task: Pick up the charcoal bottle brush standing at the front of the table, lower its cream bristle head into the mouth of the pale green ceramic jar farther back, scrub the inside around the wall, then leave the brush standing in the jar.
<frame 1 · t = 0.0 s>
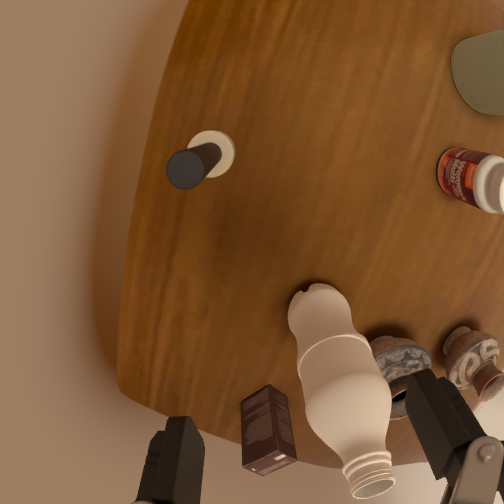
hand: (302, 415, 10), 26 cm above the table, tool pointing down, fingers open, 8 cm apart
water bottle: (314, 302, 39), on the table
jar: (480, 76, 28), on the table
box: (264, 398, 45), on the table
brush: (214, 151, 32), on the table
pill bottle: (454, 171, 33), on the table
pottery: (419, 345, 42), on the table
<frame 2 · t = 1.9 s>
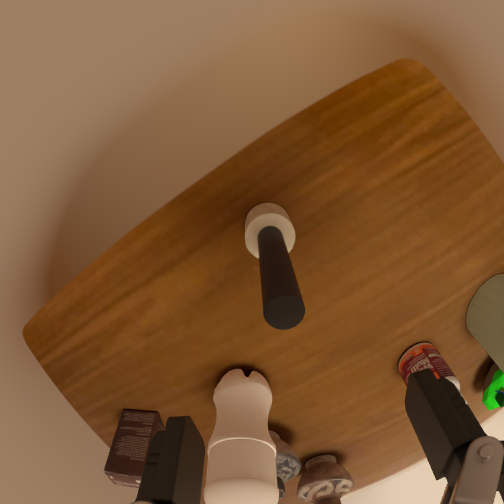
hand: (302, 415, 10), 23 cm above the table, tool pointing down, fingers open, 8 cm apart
water bottle: (242, 381, 39), on the table
jar: (491, 305, 36), on the table
box: (144, 417, 43), on the table
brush: (267, 224, 32), on the table
pill bottle: (415, 357, 39), on the table
pottery: (291, 450, 46), on the table
green rounded lump: (497, 365, 41), on the table
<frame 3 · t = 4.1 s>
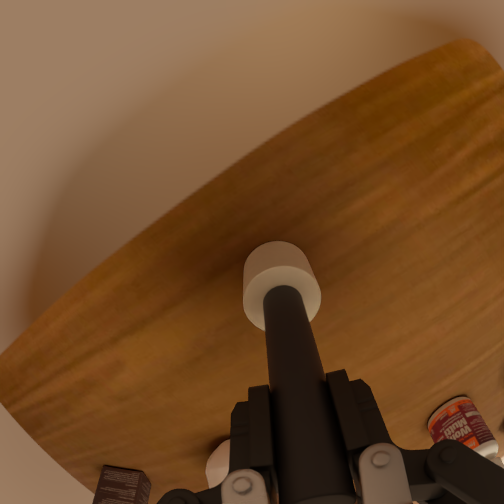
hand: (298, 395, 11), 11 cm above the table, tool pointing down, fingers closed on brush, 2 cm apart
water bottle: (241, 449, 29), on the table
box: (128, 474, 33), on the table
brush: (276, 271, 21), on the table, touching gripper
pill bottle: (447, 411, 29), on the table
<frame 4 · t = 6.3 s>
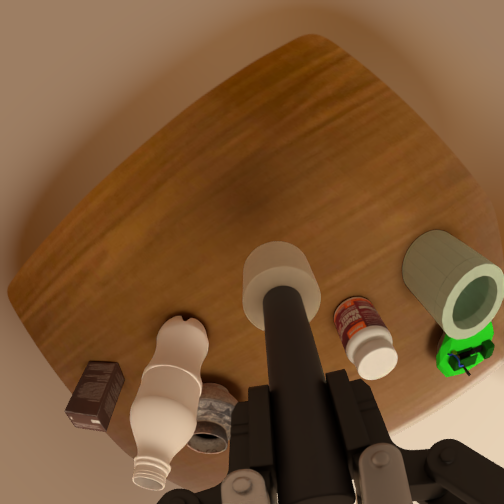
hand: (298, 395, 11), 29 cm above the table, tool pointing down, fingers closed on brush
water bottle: (186, 329, 45), on the table
jar: (431, 263, 42), on the table
box: (107, 370, 49), on the table
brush: (276, 272, 21), point 18 cm above the table, touching gripper
pill bottle: (352, 313, 44), on the table
pottery: (244, 409, 52), on the table
green rounded lump: (453, 330, 47), on the table
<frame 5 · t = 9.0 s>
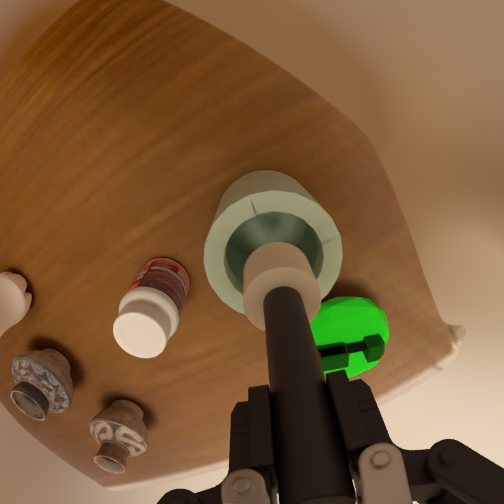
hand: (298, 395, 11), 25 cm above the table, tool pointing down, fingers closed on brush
water bottle: (19, 287, 38), on the table
jar: (265, 216, 35), on the table
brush: (276, 272, 21), point 14 cm above the table, touching gripper
pill bottle: (165, 279, 37), on the table
pottery: (90, 385, 44), on the table
green rounded lump: (333, 319, 40), on the table
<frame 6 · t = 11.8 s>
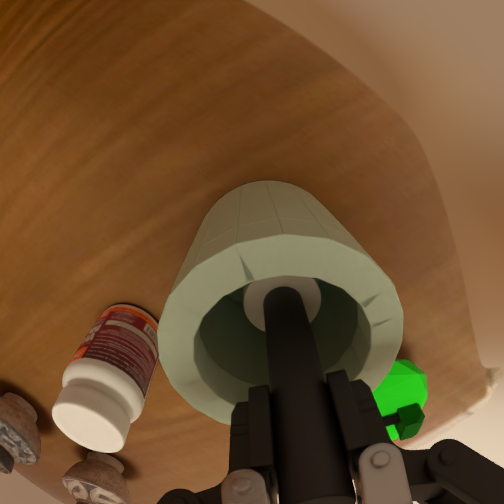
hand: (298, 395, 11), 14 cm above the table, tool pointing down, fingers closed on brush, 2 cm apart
jar: (267, 249, 24), on the table
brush: (276, 272, 22), point 2 cm above the table, touching gripper
pill bottle: (132, 330, 26), on the table
pottery: (61, 433, 33), on the table
green rounded lump: (355, 376, 29), on the table
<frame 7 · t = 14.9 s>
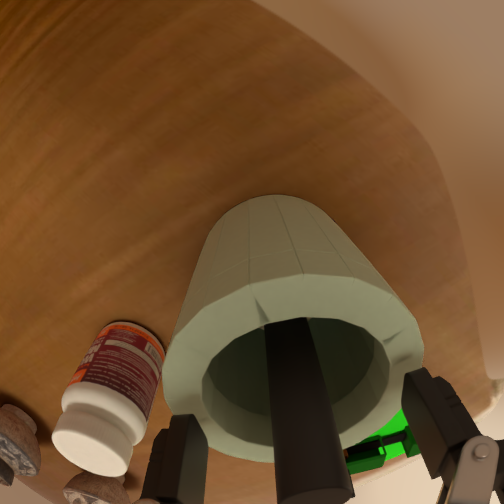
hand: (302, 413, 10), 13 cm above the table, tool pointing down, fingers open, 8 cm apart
jar: (275, 267, 22), on the table
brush: (275, 271, 22), point 1 cm above the table, touching jar
pill bottle: (132, 347, 25), on the table
pottery: (61, 444, 32), on the table
green rounded lump: (362, 392, 27), on the table
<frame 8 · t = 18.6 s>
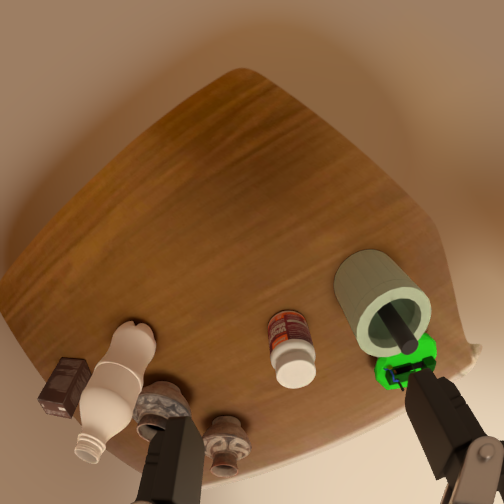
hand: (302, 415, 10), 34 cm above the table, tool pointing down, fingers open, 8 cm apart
water bottle: (139, 333, 50), on the table
jar: (365, 280, 47), on the table
box: (77, 366, 53), on the table
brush: (366, 283, 46), point 1 cm above the table, touching jar
pill bottle: (287, 325, 49), on the table
pottery: (196, 406, 56), on the table
green rounded lump: (397, 345, 52), on the table
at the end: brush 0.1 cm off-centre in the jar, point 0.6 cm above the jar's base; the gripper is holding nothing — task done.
